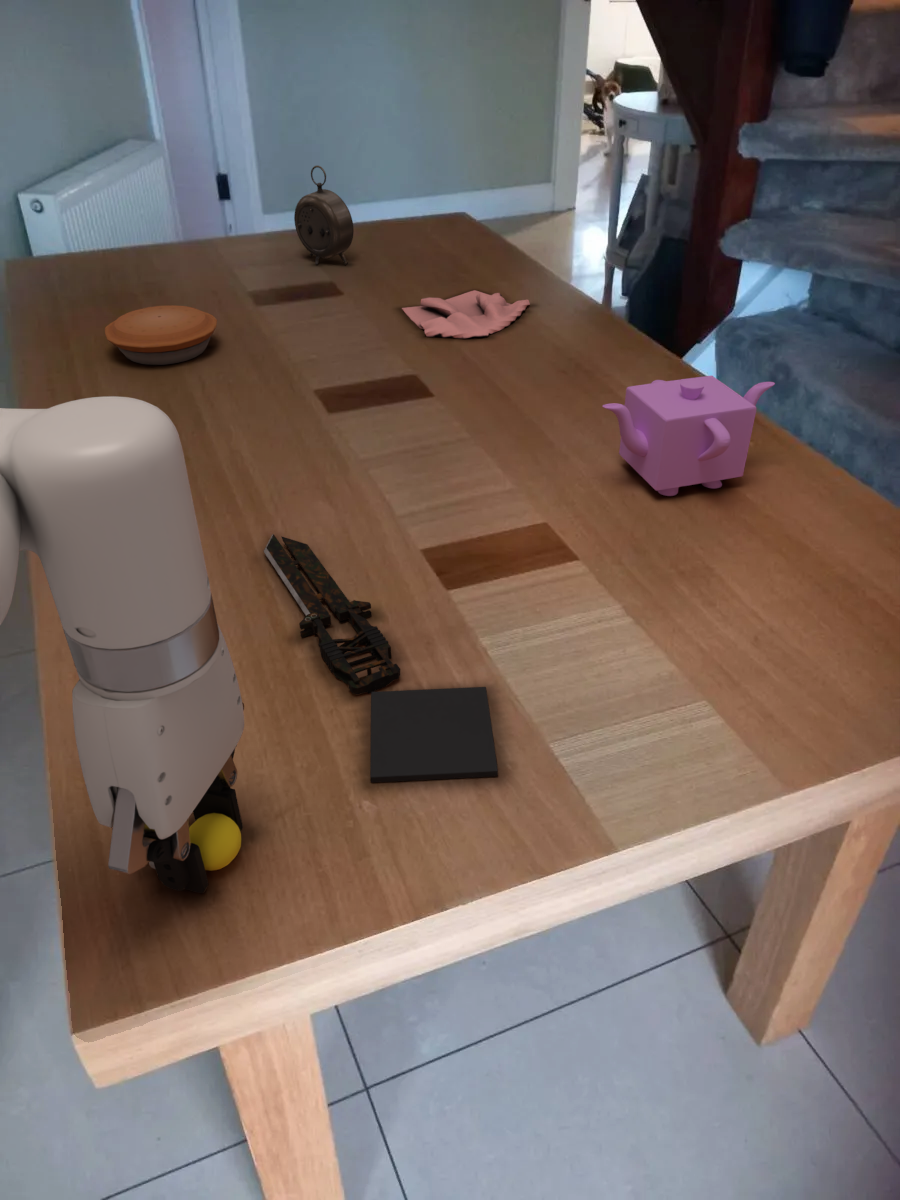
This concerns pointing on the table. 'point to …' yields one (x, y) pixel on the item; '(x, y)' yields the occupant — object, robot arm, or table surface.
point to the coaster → (431, 735)
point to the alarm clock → (324, 223)
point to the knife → (320, 618)
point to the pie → (162, 334)
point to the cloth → (465, 315)
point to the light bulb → (215, 840)
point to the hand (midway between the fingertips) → (202, 853)
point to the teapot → (686, 431)
